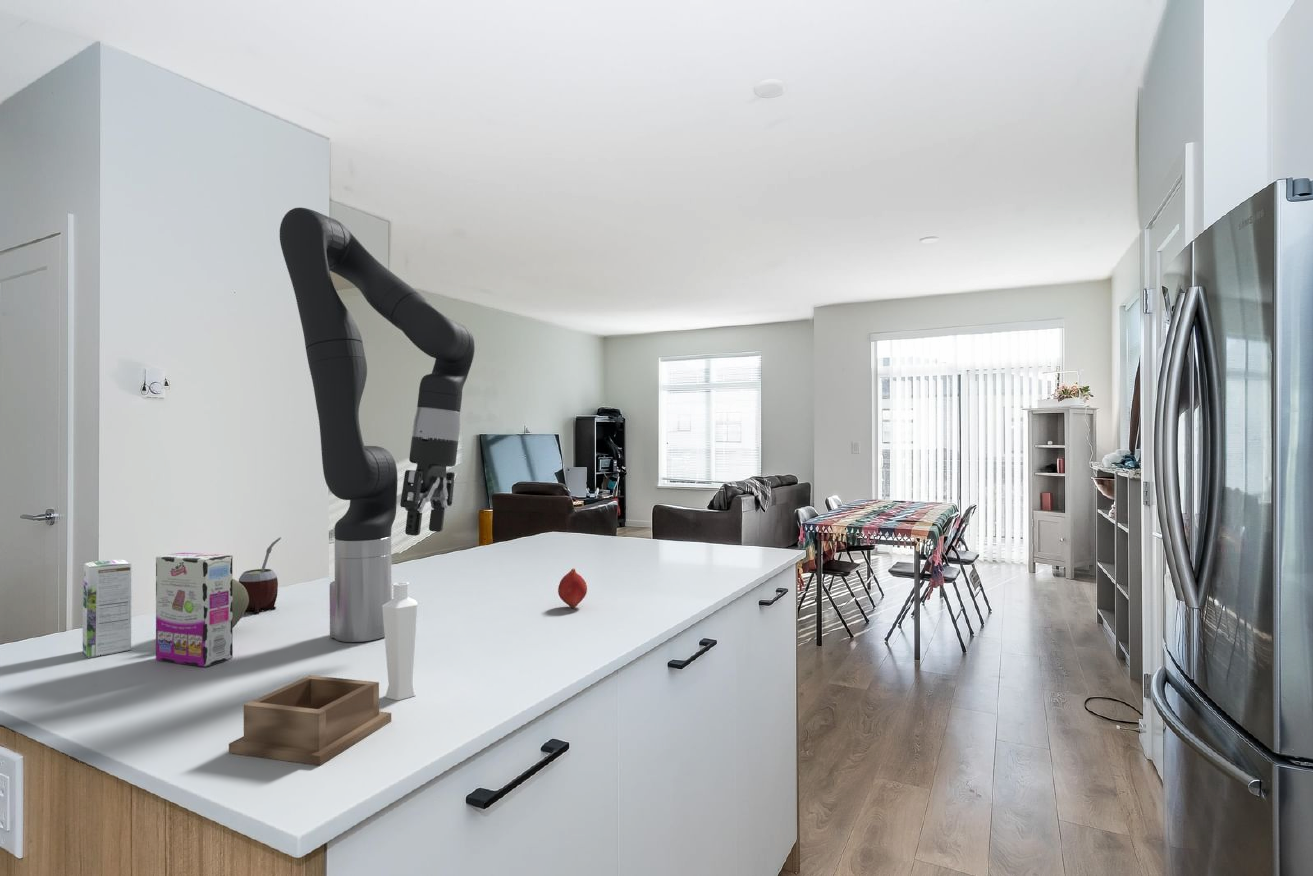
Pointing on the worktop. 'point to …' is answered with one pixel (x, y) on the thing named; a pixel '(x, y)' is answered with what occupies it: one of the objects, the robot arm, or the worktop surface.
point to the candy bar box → (194, 608)
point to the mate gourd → (261, 586)
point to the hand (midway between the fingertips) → (424, 533)
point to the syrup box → (107, 607)
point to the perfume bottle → (400, 641)
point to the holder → (310, 720)
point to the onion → (572, 588)
